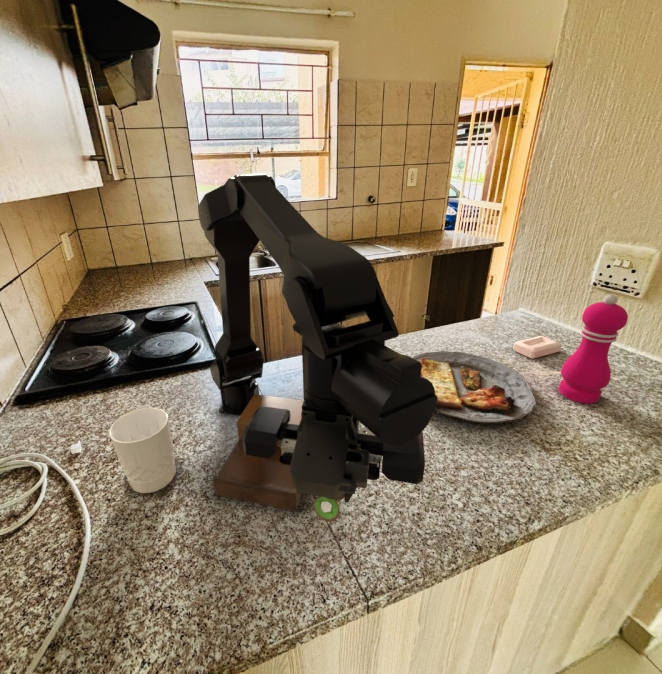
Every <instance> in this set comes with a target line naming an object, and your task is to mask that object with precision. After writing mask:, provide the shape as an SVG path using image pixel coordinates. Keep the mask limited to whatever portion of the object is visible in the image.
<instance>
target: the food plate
mask: <svg viewBox="0 0 662 674" xmlns="http://www.w3.org/2000/svg"><path fill="white" fill-rule="evenodd" d="M410 357H411V358H413V359H415V360H417V361H419V362H420V363H421V365H422V369H421V376H422V377H424V378H426V379H428V380H429V381H430V382H431V383H432V384H433V386H434V389H435V395H436V396H437V397H438V398H437V405H436V408H435V411H434V413H436V414H438V415H442V416H445V417H449V418H453V419H457V420H462V421H467V422H472V423H476V424H479V425H480V424H481V425H482V424H483V425H488V424H489V425H497V424H503V423H510V422H520V421H521V420H524V419H526V418H527V417H529V416H530V415H531V414H532V411H533V412H534V411H535V409H536V405H537V402H536V399H535V397H534V395H533V392H532V390H531V388H530V386H529V383H528V382H527V379H526V378H525V376H524V375H523V374H522V373H520V372H519V371H518V370H515V369H514V368H511V366H507V365H505V364H502V363H501V362H498V361H497V360H494V359H492V358H489V357H486V356H483V355H477V354H473V353H472V352H471V353H469V352H463V351H449V350H438V351H426V352H421V353H418V354H414V355H413V356H410Z"/></svg>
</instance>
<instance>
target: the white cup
mask: <svg viewBox="0 0 662 674" xmlns="http://www.w3.org/2000/svg"><path fill="white" fill-rule="evenodd" d="M108 436H109V438H110V441H111V443H112V445H113V448H114V451H115V454H116V457H117V459H118V462H119V463H120V466H121V468H122V470H123V473H124V474H125V476H126V478H127V482H128V484H129V486H130V488H132V491H134V492H137V493H140V494H150V493H151V494H152V493H155V492H158V491H159V490H162V489H164V488H165V487H167V485H169V484H170V483H171V482H172V481H173V479H174V477H175V475H176V474H177V469H176V462H175V451H174V444H173V437H172V432H171V426H170V419H169V415H168V413H167V412H166V411H165V410H163V409H161V408H159V407H141V408H137V409H134V410H130V411H129V412H126V413H125V414H123V415H121V416H119V417H118V418H117V419H116V420H115V421H114V422H113V423H112V424H111V425H110V427H109V431H108Z"/></svg>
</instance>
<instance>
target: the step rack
mask: <svg viewBox="0 0 662 674" xmlns="http://www.w3.org/2000/svg"><path fill="white" fill-rule="evenodd" d="M303 402H304V399H296V398H288V397H281V396H280V397H279V396H271V395H264V394H259V395H256V394H254V396H253V397H252V399H251V400H250V402H249V403H248V405H247V407H246V408H245V410H244V411H243V413H242V414H241V416H240V415H239V417H238V419H237V421H236V428H237V437H238V440H237V442H236V444H235V445H234V446H233V448H232V450H231V451H230V453H229V455H228V457H227V458H226V460H225V462H224V464H223V465H222V467H221V469H220V470H219V472H218V474H214V475H213V477H212V481H213V487H214V488H213V489H214V492H215V495H216V496H220V497H225V498H230V499H234V500H239V501H244V502H249V503H254V504H258V505H264V506H268V507H273V508H278V509H283V510H286V511H287V510H288V511H292V512H297V511H298V510H299V509H298V508H299V505H300V501H301V498H302V495H303V494H302V493H299V492H298V491H297V490H296V489H295V487H294V484H293V480H292V477H291V474H290V466H288V465H283V464H281V463H280V461H279V458H280V456H281V453H282V452H281V448H280V442H281V440H278V441H277V443H276V449H277V451H276V453H275V455H273V456H272V457H270V458H269V459H267V458H261V457H255V456H249V455H246V454H245V452H244V451H243V443H242V437H243V432H244V430H245V428H246V427H247V425H248V423H249V421H250V420H251V418H252V416H253V415H254V413H255V411H256V410H257V409H258V408H259V407H260V406H265V407H272V408H280V409H287V410H289V411H290V416H291V419H290V421H289V422H288V423H290V424H297V425H299V424H300V421H301V413H302V404H303Z"/></svg>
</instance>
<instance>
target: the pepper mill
mask: <svg viewBox="0 0 662 674" xmlns="http://www.w3.org/2000/svg"><path fill="white" fill-rule="evenodd" d="M617 302H618V296H616V295H615V294H606V295H605V296H604V297H603V301H600V302H595V303H592V304H590V305H588V306H587V307H586V308H585V309H584V311H583V313H582V314H581V315H582V316H581V320H582V322H583V324H584V325H583V326H582V327H581V331H580V336H581V341H580V344H579V345H578V347H577V348H576V350H575V351H574V352H573V354H571V355H570V356H569V357H568V358H567V359H566V360H565V361H564V363H563V364H562V367H561V368H560V375H561V377H562V380H560V383H559V385H558V392H559V394H560V395H562V396H563V397H565V398H567V399H568V400H571V401H574V402H577V403H581V404H596V403H597V402H599V400H600V398H601V395H602V389H604V388H606V387H608V386H609V384H610V381H611V377H612V376H611V374H612V373H611V367H610V363H609V351H610V347H611V345H612V343H614V342H616V341H617V339H618V338H617V337H618V336H619V332H618V331H620V330H622V329H623V328H624V327H626V325H627V323H628V320H629V316H628V312H627V310H626V309H625V308H624V307H623V306H621V305H619V304H617Z"/></svg>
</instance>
